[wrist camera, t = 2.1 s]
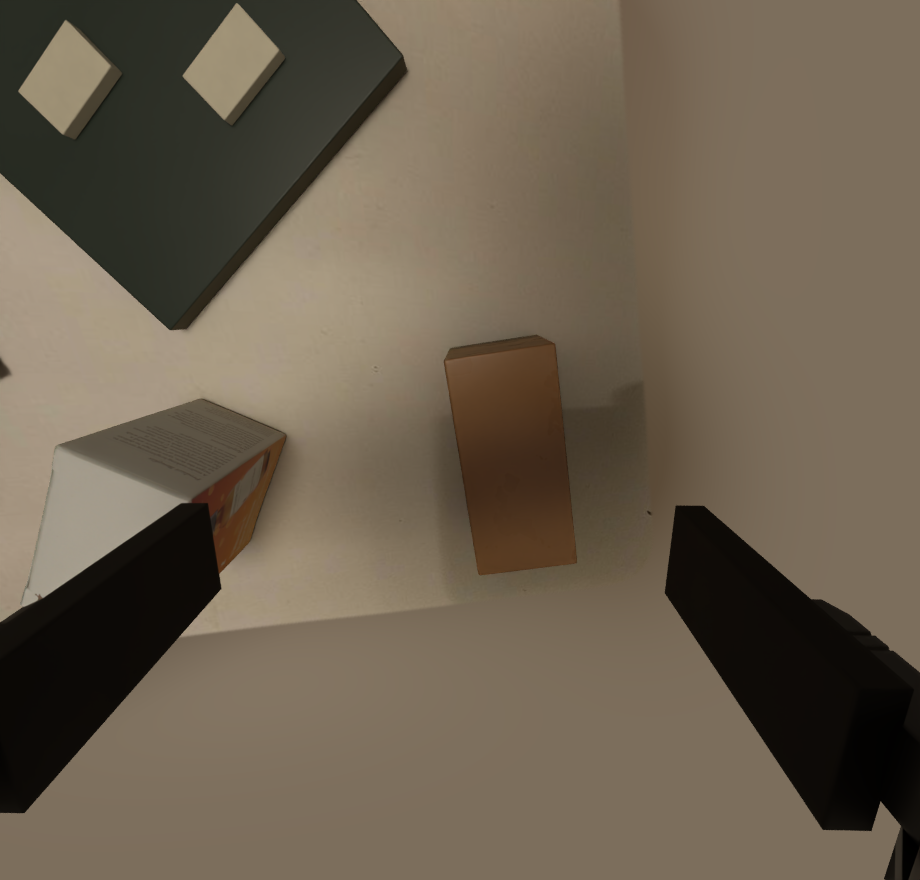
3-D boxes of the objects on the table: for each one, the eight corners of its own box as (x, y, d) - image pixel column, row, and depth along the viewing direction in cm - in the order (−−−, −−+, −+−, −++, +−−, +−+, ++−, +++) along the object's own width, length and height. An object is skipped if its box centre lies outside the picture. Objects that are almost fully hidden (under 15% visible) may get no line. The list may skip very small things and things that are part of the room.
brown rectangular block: (449, 348, 27) (443, 359, 22) (537, 334, 27) (555, 342, 21) (477, 524, 30) (478, 576, 25) (557, 514, 30) (577, 564, 24)
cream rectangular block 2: (244, 11, 22) (236, 1, 21) (286, 58, 23) (279, 49, 22) (191, 83, 23) (181, 75, 22) (232, 126, 23) (223, 120, 23)
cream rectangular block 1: (79, 28, 22) (65, 18, 22) (123, 73, 23) (111, 65, 22) (32, 98, 23) (16, 91, 22) (75, 140, 24) (62, 134, 23)
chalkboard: (-16, -428, 20) (-55, -487, 18) (407, 70, 24) (403, 55, 22) (-213, -43, 23) (-259, -66, 22) (185, 329, 28) (169, 331, 26)
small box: (250, 542, 31) (143, 658, 21) (166, 509, 31) (14, 611, 20) (290, 432, 29) (192, 501, 19) (200, 394, 28) (50, 444, 18)
